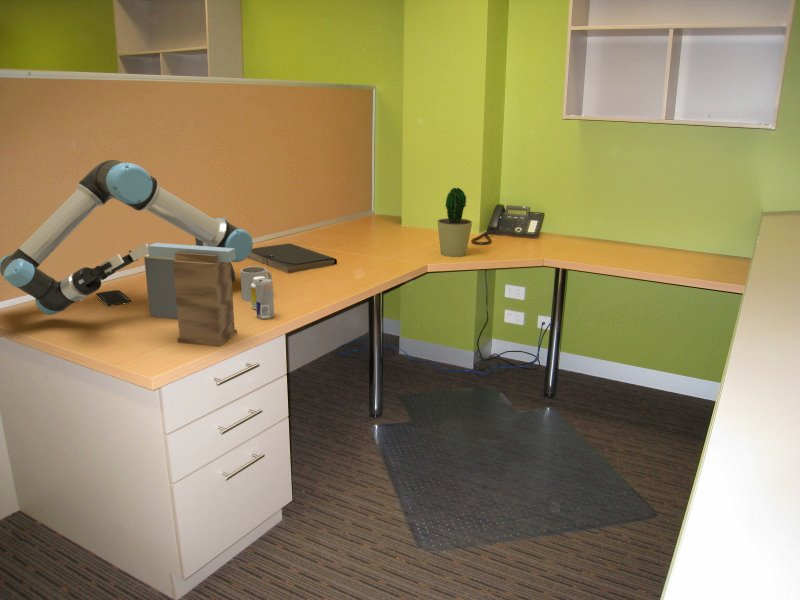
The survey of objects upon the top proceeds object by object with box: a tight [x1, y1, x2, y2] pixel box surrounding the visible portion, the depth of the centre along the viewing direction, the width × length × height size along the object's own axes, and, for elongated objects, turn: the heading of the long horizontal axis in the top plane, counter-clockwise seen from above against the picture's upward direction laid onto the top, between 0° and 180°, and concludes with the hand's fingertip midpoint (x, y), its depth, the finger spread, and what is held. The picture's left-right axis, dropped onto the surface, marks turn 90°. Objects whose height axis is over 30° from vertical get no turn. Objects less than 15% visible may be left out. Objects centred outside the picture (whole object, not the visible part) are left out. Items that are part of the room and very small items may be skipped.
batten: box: [148, 242, 236, 263], centre depth 181 cm, size 4×24×3 cm, turn 79°
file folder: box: [247, 243, 338, 274], centre depth 273 cm, size 33×4×24 cm
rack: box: [173, 252, 238, 347], centre depth 184 cm, size 11×13×26 cm
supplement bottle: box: [251, 276, 265, 311], centre depth 213 cm, size 6×6×10 cm
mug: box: [239, 266, 273, 303], centre depth 224 cm, size 12×9×10 cm
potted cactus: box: [437, 187, 473, 258], centre depth 286 cm, size 15×15×30 cm
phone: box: [95, 289, 132, 307], centre depth 220 cm, size 8×1×15 cm
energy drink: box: [255, 277, 275, 320], centre depth 204 cm, size 5×5×12 cm
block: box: [143, 253, 178, 320], centre depth 204 cm, size 10×12×20 cm
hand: (135, 252), depth 184 cm, fingers open, 13 cm apart
